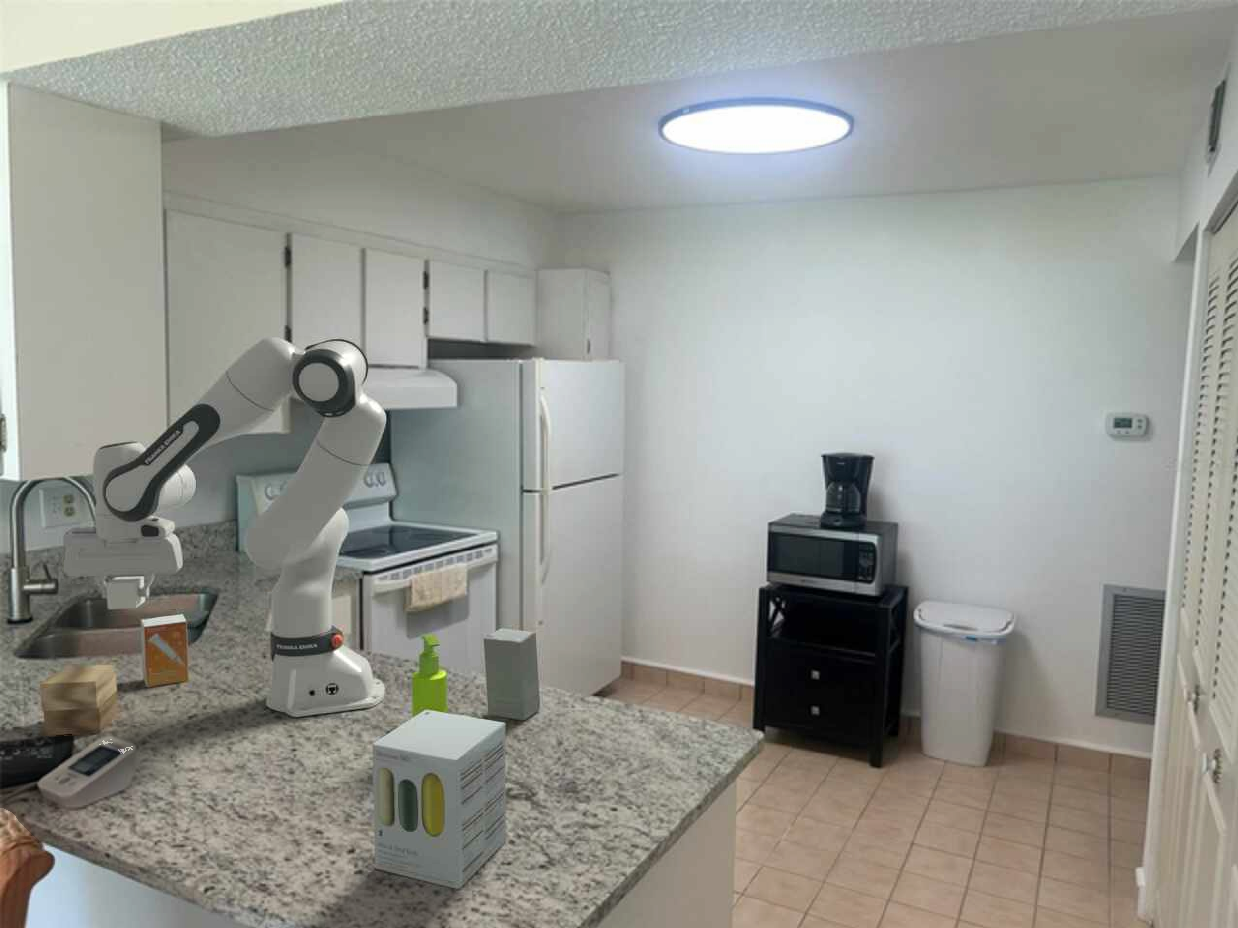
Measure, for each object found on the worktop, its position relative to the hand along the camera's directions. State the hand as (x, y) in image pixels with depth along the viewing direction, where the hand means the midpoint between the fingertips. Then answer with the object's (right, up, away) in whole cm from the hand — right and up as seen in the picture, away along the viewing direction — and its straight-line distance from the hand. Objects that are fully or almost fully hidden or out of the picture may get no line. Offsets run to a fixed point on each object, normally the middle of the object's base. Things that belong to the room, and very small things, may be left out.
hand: (126, 597), depth 173 cm
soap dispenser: (+62, -24, -17) cm, 69 cm away
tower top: (-3, -18, -9) cm, 20 cm away
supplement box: (+71, -28, -50) cm, 91 cm away
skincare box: (+75, -22, -1) cm, 78 cm away
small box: (0, -20, +15) cm, 25 cm away
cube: (0, -2, 0) cm, 2 cm away
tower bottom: (-3, -23, -8) cm, 24 cm away
